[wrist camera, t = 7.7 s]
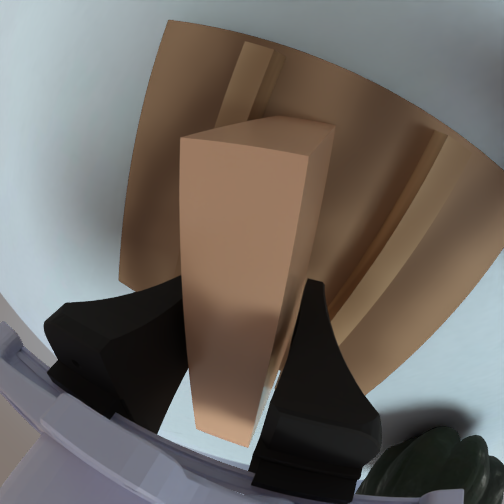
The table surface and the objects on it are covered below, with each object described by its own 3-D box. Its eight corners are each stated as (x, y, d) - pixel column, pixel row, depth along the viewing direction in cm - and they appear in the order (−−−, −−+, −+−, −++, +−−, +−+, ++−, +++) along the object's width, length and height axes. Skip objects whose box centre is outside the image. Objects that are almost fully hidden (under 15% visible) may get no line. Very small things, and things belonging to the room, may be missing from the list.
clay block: (336, 125, 11) (308, 156, 5) (291, 332, 18) (248, 447, 11) (278, 115, 12) (180, 137, 5) (252, 321, 18) (196, 428, 12)
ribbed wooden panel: (524, 192, 10) (552, 213, 7) (357, 392, 20) (352, 424, 17) (178, 22, 12) (144, 13, 9) (126, 273, 22) (102, 295, 19)
